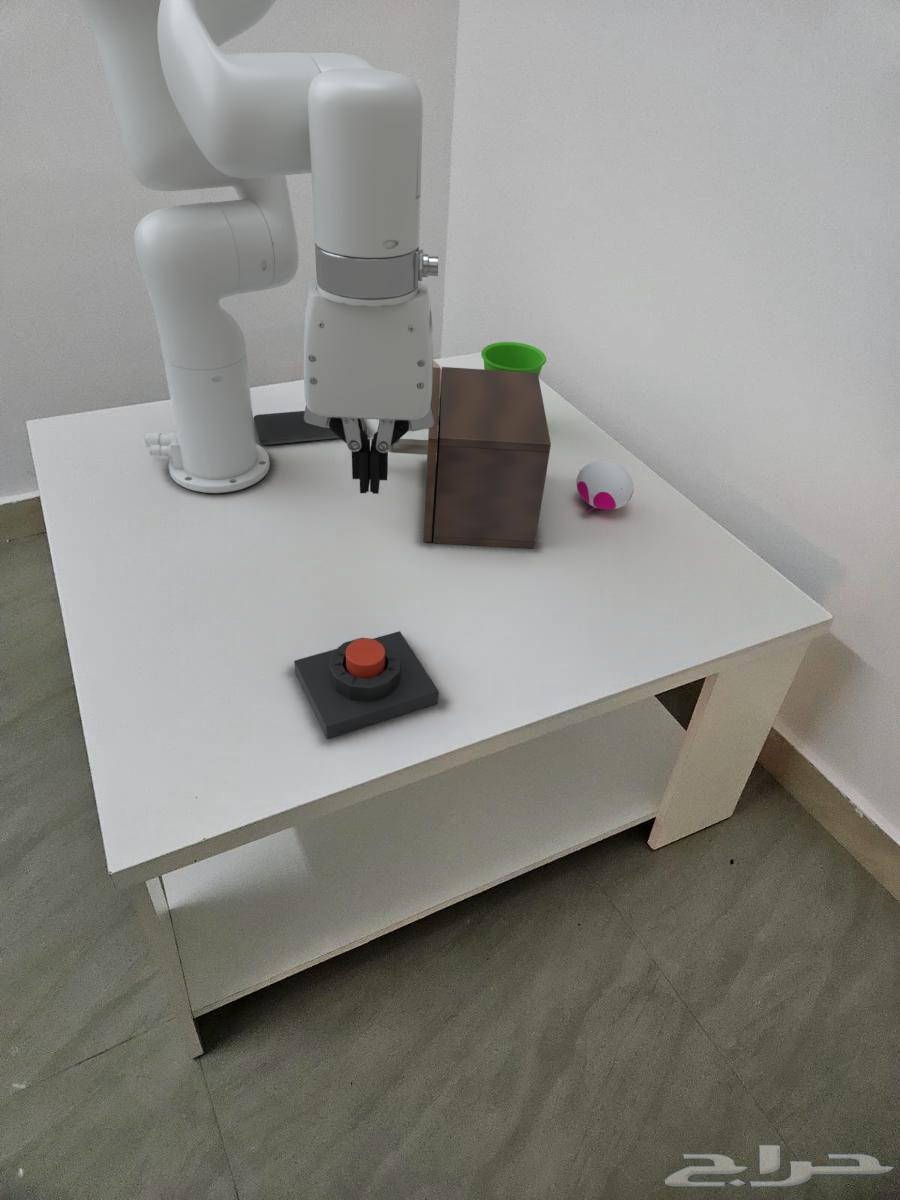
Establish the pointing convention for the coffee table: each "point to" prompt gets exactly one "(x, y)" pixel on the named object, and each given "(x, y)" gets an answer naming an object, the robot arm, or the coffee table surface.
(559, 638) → the coffee table surface
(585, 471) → the stress ball
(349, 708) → the button block
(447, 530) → the cupboard
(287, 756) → the coffee table surface
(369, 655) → the button
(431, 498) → the door
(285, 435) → the smartphone
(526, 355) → the cup
